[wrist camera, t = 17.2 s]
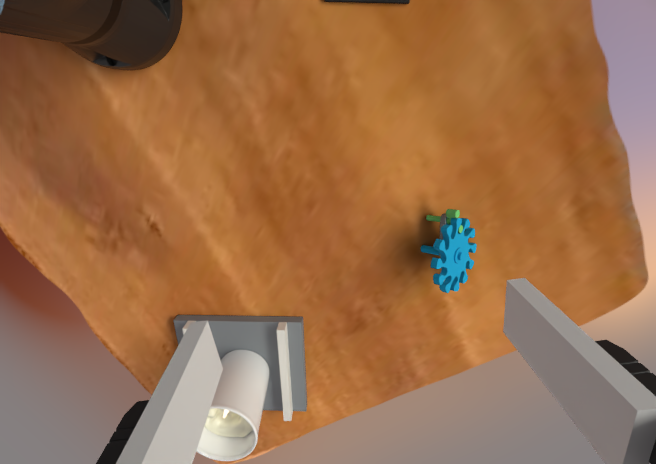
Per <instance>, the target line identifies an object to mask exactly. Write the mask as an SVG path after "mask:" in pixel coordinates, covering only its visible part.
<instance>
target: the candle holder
mask: <svg viewBox="0 0 656 464" xmlns="http://www.w3.org/2000/svg"><path fill="white" fill-rule="evenodd" d="M221 364H222V367H223V371H222V374H221V377H220V380H219V383H218V386H217V389H216V392H215V395H214V398H213V401H212V404H211V407H210V410H209V414H208V417H207V420H206V423H205V426H204V429H203V432H202V435H201V438H200V441H199V444H198V447H197V450H196V451H197V452H198V453H200V454H201V455H203V456H205V457H208V458H210V459H214V460H219V461H234V460H238V459H241V458H244V457H245V456H247V455H249V454H250V453H251V452H252V451H253V449H254V448H255V446H256V444H257V440H258V432H259V427H260V422H261V417H262V412H263V407H264V402H265V397H266V391H267V386H268V381H269V373H270V372H269V367H268V364H267V362H266V361H265V360H264V359H263V358H262V357H261V356H260V355H259V354H257V353H255V352H253V351H249V350H242V349H240V350H234V351H231V352H229V353H227V354H226V355H225V356H224V357H223V358H222V359H221Z"/></svg>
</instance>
